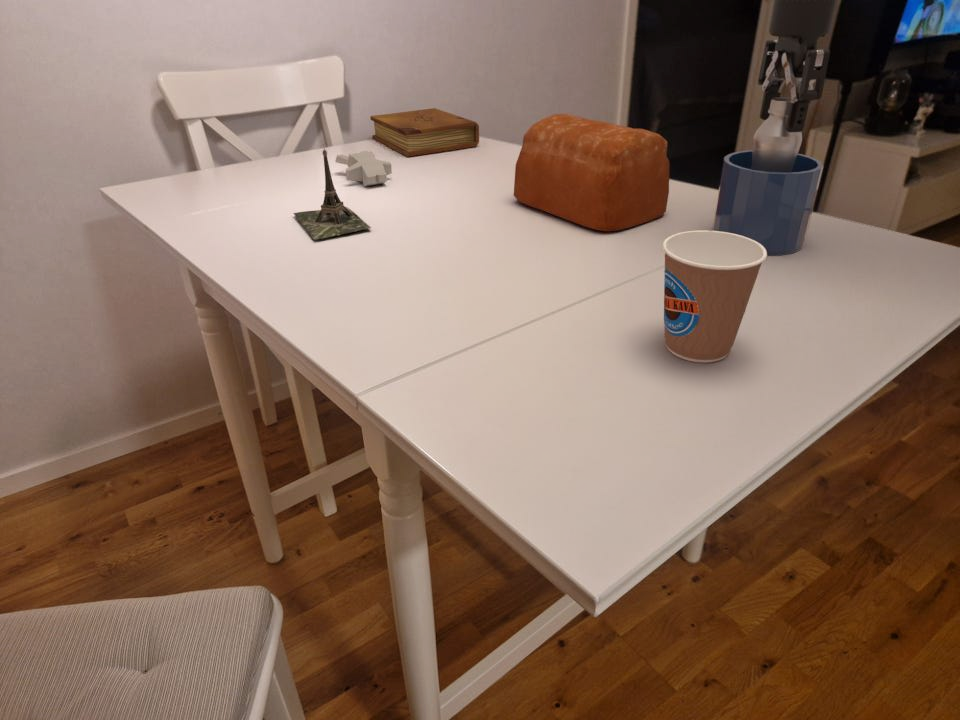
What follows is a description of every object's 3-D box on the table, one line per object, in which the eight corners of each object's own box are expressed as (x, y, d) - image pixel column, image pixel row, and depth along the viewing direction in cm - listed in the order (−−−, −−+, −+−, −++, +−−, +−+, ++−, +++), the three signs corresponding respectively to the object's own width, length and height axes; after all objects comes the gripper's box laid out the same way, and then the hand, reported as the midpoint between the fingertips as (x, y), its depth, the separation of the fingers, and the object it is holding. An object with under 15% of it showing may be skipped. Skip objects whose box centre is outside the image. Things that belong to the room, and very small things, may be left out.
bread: (604, 237, 104) (612, 141, 96) (507, 201, 121) (507, 117, 113) (674, 214, 113) (686, 124, 105) (574, 184, 130) (578, 104, 122)
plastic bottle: (788, 243, 99) (820, 103, 89) (743, 244, 99) (770, 104, 89) (771, 228, 104) (800, 94, 94) (729, 229, 105) (753, 96, 94)
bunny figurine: (353, 171, 126) (328, 146, 137) (355, 196, 129) (331, 170, 140) (399, 164, 130) (371, 140, 141) (400, 188, 133) (373, 164, 144)
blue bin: (780, 223, 108) (796, 148, 102) (820, 253, 96) (841, 171, 90) (699, 226, 108) (711, 151, 101) (730, 257, 96) (745, 175, 90)
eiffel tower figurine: (291, 216, 117) (278, 138, 110) (346, 206, 121) (337, 131, 114) (314, 242, 105) (300, 158, 98) (374, 231, 109) (365, 149, 102)
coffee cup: (635, 332, 77) (645, 235, 71) (714, 321, 79) (731, 225, 73) (677, 377, 69) (693, 272, 63) (764, 363, 71) (789, 260, 65)
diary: (479, 146, 158) (478, 121, 155) (407, 157, 150) (405, 131, 148) (438, 129, 175) (437, 106, 172) (372, 138, 168) (370, 115, 165)
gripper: (865, -4, 79) (831, 135, 87) (808, -8, 91) (783, 114, 99) (803, -2, 79) (775, 137, 87) (755, -7, 91) (734, 116, 99)
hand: (779, 125), depth 93 cm, fingers open, 8 cm apart
